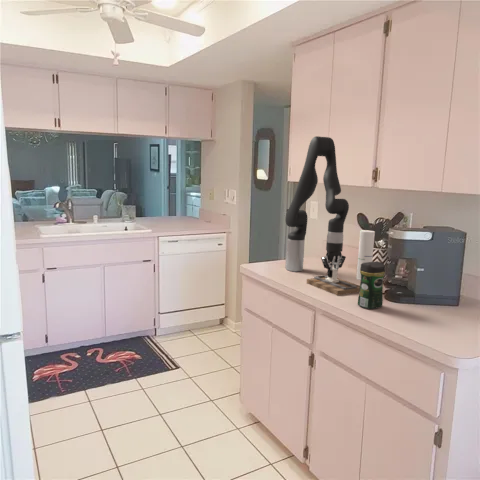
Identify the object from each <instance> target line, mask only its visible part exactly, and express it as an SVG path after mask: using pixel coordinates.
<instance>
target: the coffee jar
mask: <svg viewBox="0 0 480 480" xmlns="http://www.w3.org/2000/svg"><path fill="white" fill-rule="evenodd" d="M360 273H361V280H360V285H359V286H360V291H359V292H358V298H357V305H358V306H359V307H360V308H363V309H368V310H373V309H375V310H376V309H379V308H382V306H383V304H384V301H383V300H384V299H383V298H384V297H383V292H384V291H383V290H384V289H383V288H384V286H383V285H384V277H385V273H386V265H385V263H383V262H380V261H378V260H377V261H372V262H366V263H362V264H361V268H360Z"/></svg>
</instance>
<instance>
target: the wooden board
mask: <svg viewBox="0 0 480 480" xmlns="http://www.w3.org/2000/svg"><path fill="white" fill-rule="evenodd" d="M327 277H328V276H327V275H324V274H323V275H316V276H314V278H313V277H311V278H307V279H306V284H308V285H311V286H313V287H316V288H318V289H320V290H322V291H326V292H328V293H330V294H333V295H335V296H341V295H347V294H348V295H349V294H355V293H359V291H360V285H359V284H357V283H356V284H355V283H353V282H350V281H347V280H344V279H342V278H339V277H337V279H338V280H339V282H337V283H333V282H330V281H327V280H325V278H327Z"/></svg>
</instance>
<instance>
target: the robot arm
mask: <svg viewBox="0 0 480 480" xmlns="http://www.w3.org/2000/svg"><path fill="white" fill-rule="evenodd" d="M309 142H310V143H309V145H308V148H307V153H306V156H305V162H304V166H303V168H302V172H301V175H300V177H299V180H298V182H297V187H296V189H295V193H294V195H293V198H292V200H291V203H290V205H289V207H288V208H287V211H286V214H285V224H286V226H287V227H289V228H295V229H294V230H293V231H291V232H289V233H288V234H287V242H286V243H287V246H286V247H287V248H286V252H285V267H284V268H285V269H286V271H289V272H302V271H304V258H305V240H306V239H305V238H306V236H307V228H308V227H307V226H308V214H307V211H306V210H304V209H301V207H302V206H303V205H304V204H305V203H306V202H307V201H308V200H309V199H310V198H312V196H313V194H314V193H315V190H316V188H317V185H318V183H319V178H318V174H317V169H316V162H317V159H318V158H319V157H325V160H326V161H325V162H326V168H325V170H324V174H323V179H322V180H323V185H324V189H325V190H324V191H325V204H324V205H325V209H326V211H327V213H328V214H329V215H330V214H331V215H335V216H334V218H331V219H329V220H328V225H327V233H326V234H327V235H326V246H325V250H326V254H325V255H324V256H321V257H320V259H321V262H322V265H323V268H324V269H326V270H327V273H326V274H327V276H328V277H330V278H332V268H335V269H338V270H339V269H341V268H342V267H343V265H344V262H345V260H346V258H347V257H346V256H345V255H343V254H342V252H343V248H344V226H345V225H344V224H345V221H346V219H347V215H348V213H349V208H350V205H349V202H348V200H347V199H346V198H336V196H337V195H340V194H341V193H342V187H341V183H340V180H339V177H338V169H337V168H338V167H337V157H336V156H337V155H336V145H335V142H334V140H333V138H332V137H328V136H319V135H318V136H314V137H312V138H311V140H310V141H309ZM338 275H339V273H338V274H337V276H338Z"/></svg>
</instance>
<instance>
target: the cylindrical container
mask: <svg viewBox="0 0 480 480" xmlns="http://www.w3.org/2000/svg"><path fill="white" fill-rule="evenodd" d="M375 234H376V231H374V230H367V229H363V230H362V229H361V230H360V231H359V239H358V241H359V243H358V254H357V267H356V279H355V280H358V281H361V273H360V268H361V264H362V263H366V262H373V257H374V246H375V237H376V236H375Z"/></svg>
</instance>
